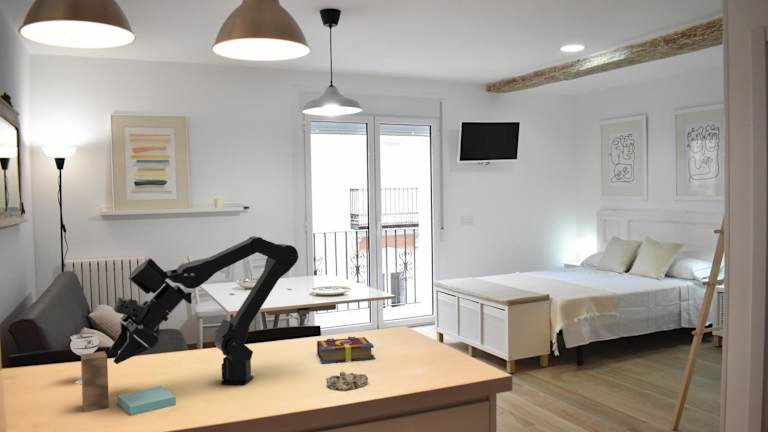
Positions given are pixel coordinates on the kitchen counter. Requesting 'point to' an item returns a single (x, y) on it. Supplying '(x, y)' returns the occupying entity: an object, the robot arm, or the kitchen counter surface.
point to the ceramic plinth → (146, 400)
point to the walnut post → (94, 381)
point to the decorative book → (344, 350)
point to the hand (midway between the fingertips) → (112, 358)
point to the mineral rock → (347, 381)
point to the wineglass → (84, 344)
